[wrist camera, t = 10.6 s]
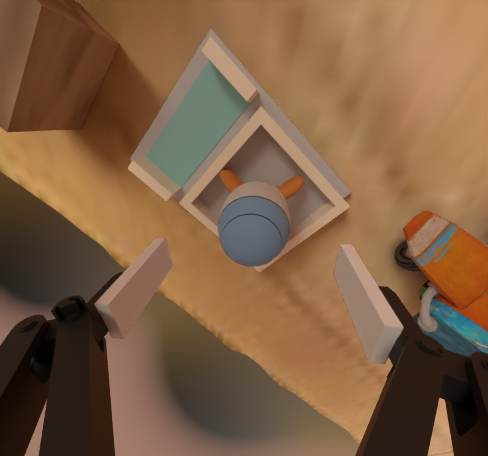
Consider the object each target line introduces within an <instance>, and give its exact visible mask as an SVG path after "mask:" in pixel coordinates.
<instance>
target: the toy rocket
mask: <svg viewBox="0 0 488 456" xmlns="http://www.w3.org/2000/svg"><path fill="white" fill-rule="evenodd" d="M220 178H221V180H222V182H223V184H224V186H225V187H226V188H227V189H228V191H229V192H230V193H231V194H230V195H229V196H228V197H227V199H226V201H225V203H224V204H223V206H222V209H221V212H220V216H219V220H218V234H219V239H220V242H221V245H222V247H223V249H224V251H225V252H226V254H227V255H228V256H229V257H230V258H231V259H232V260H234V261H235V262H237V263H239V264H241V265H244V266H250V267H256V266H262V265H265V264H267V263H269V262H271V261H272V260H273V259H274V258H275V257H277V256H278V255H279V254H280V252H281V251H282V250H283V248H284V247H285V245H286V243H287V241H288V238H289V234H290V214H289V208H288V204H287V202H286V200H287V199H288V198H290V197H292V196H293V195H294V194H296V193H297V192H298V191H299V190H300V188H301V187H302V186H303V184H304V179H303V177H302V176H298V175H294V176H293V177H292V178H290V179H288V180H287V181H285V182H283V183H282V184H281V185H279V186H276V187H275V186H273V185H271V184H269V183H266V182H263V181H252V182H248V183H244V182H242V181H241V180H240V178H239V177H238V176H237V175H236V174H235V173H234V172H233V171H232V170H231V168H224V169H222V170H221V171H220Z"/></svg>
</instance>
